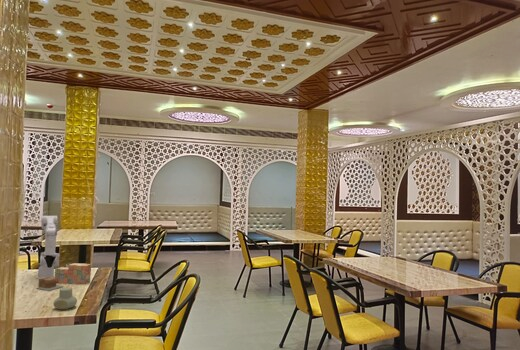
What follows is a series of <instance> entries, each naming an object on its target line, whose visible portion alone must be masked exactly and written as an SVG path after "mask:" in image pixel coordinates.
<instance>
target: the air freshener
mask: <svg viewBox="0 0 520 350" xmlns="http://www.w3.org/2000/svg"><path fill="white" fill-rule="evenodd" d="M58 295H59V296H58V297H57V298H55V300H54V301H53V306H54V308H56V309H58V310H60V311H62V310H63V311H65V310H69V309H72V308H73V307H74V306H77V303H78V300H77V297H75V296H74V295H73V288H72V287H62V288H59V293H58Z"/></svg>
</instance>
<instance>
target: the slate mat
mask: <svg viewBox="0 0 520 350" xmlns="http://www.w3.org/2000/svg"><path fill="white" fill-rule="evenodd" d="M61 288H64V285H57V284H56V287H52V288H43V287H38V286H37V287H35V289H36V290H41V291H46V292H51V291H54V290H58V289H59V290H60V289H61Z"/></svg>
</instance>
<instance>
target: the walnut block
mask: <svg viewBox="0 0 520 350" xmlns="http://www.w3.org/2000/svg"><path fill="white" fill-rule="evenodd" d="M37 283H38V286H37V288H38V287H43V288H52V287H56V285H57V283H56V278H49V277H44V278H39V279H38V282H37Z"/></svg>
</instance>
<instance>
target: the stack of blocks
mask: <svg viewBox="0 0 520 350" xmlns="http://www.w3.org/2000/svg"><path fill="white" fill-rule="evenodd" d="M68 265H69V264H68ZM54 273H55V274H54V277H55V278H56V284H70V285H71V284H72V285H87V284H90V283H91V274H92V264H91V263H76V262H75V263H74V262H73V263H70V265H69V267H66V266H65V267H64V266H61V267H58V268H54Z"/></svg>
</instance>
